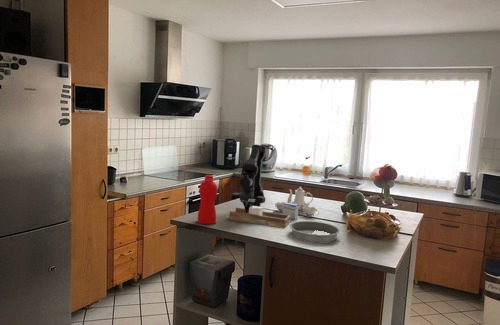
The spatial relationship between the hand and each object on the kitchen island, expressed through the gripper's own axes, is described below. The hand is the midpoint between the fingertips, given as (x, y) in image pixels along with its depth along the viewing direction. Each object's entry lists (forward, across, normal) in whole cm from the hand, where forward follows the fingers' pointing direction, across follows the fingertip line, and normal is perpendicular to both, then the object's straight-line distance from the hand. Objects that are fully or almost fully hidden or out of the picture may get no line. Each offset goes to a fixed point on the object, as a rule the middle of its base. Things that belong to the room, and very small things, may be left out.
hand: (246, 213), depth 216 cm
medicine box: (+3, +22, +14) cm, 26 cm away
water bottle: (+4, -16, -18) cm, 24 cm away
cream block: (+1, +5, 0) cm, 5 cm away
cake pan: (+4, +40, -12) cm, 42 cm away
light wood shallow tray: (+3, +8, 0) cm, 8 cm away
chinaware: (+3, +22, +30) cm, 37 cm away
